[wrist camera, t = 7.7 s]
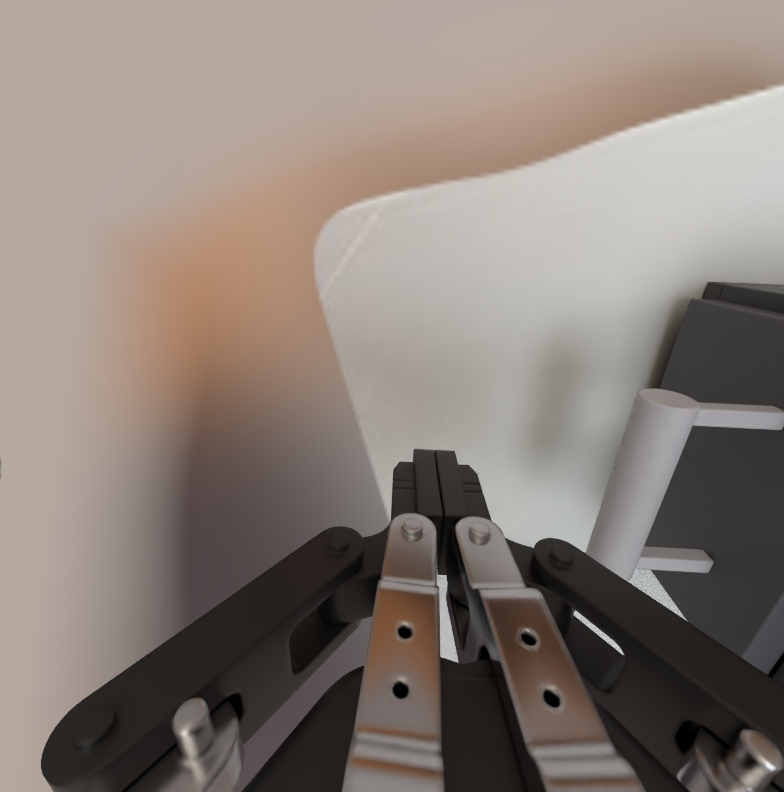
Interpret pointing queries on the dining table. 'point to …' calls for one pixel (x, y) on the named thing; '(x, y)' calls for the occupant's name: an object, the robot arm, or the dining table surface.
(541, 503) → the dining table surface
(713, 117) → the dining table surface
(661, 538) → the drawer
